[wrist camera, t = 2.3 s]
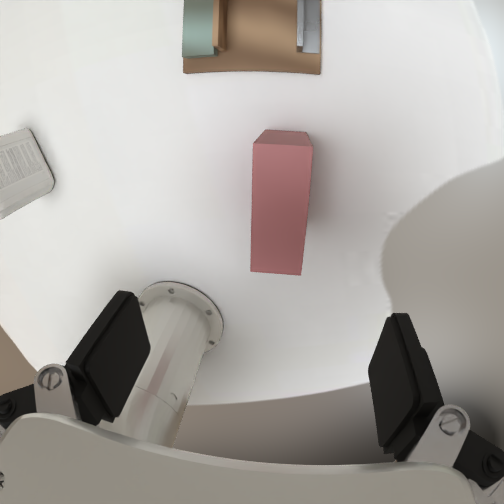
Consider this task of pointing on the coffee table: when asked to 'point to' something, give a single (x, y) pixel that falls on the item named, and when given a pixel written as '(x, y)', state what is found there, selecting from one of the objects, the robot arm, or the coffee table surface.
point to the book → (280, 201)
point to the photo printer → (21, 172)
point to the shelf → (244, 37)
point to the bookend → (308, 26)
